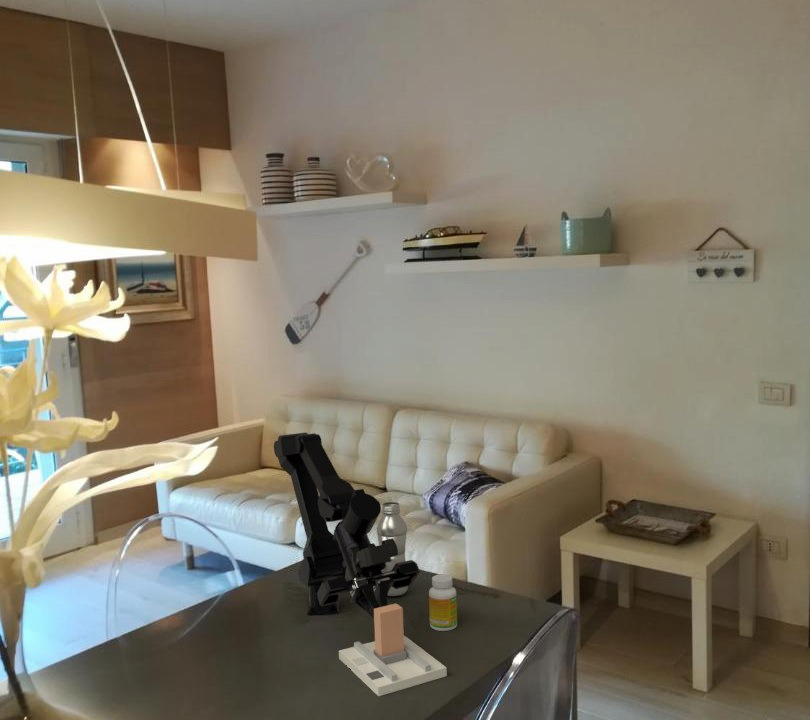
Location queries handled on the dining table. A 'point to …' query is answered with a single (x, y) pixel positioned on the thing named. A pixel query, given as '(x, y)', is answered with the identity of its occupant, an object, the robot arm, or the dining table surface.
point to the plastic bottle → (396, 529)
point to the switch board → (392, 667)
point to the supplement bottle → (442, 603)
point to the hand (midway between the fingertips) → (385, 625)
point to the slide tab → (389, 634)
